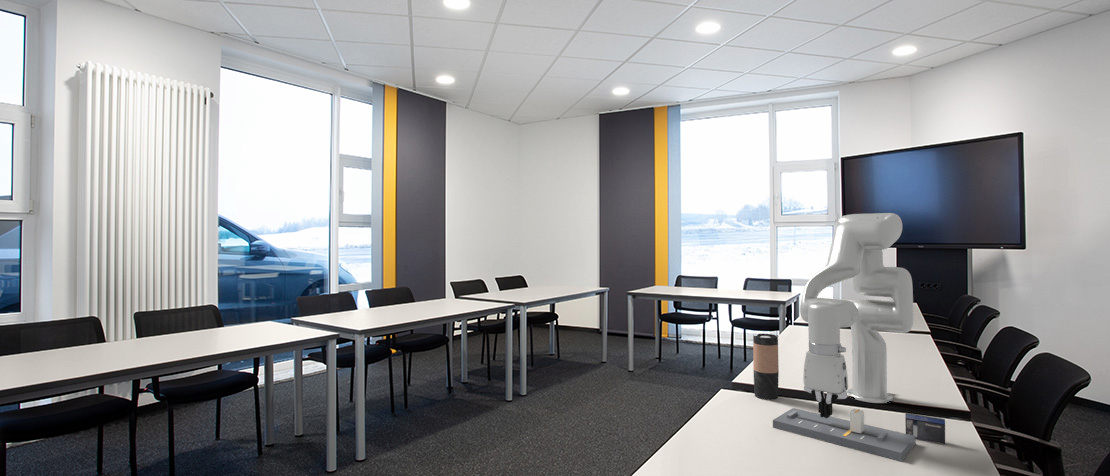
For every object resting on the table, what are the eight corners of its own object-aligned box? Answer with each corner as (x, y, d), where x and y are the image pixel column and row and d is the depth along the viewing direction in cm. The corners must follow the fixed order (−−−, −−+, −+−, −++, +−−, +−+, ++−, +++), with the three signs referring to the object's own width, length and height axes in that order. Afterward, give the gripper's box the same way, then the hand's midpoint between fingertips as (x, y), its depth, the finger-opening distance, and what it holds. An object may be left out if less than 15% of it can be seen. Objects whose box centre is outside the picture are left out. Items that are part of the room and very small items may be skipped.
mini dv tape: (905, 437, 132) (905, 414, 132) (905, 435, 133) (905, 412, 133) (945, 444, 128) (945, 420, 128) (944, 442, 129) (944, 418, 129)
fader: (853, 427, 133) (853, 408, 133) (864, 430, 131) (864, 410, 131) (850, 430, 131) (850, 411, 131) (860, 433, 129) (860, 413, 129)
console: (793, 414, 150) (793, 405, 150) (915, 444, 128) (915, 432, 128) (772, 427, 140) (772, 417, 140) (901, 461, 118) (901, 449, 118)
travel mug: (781, 400, 162) (780, 338, 162) (756, 399, 164) (755, 337, 164) (775, 393, 170) (775, 333, 170) (751, 392, 171) (751, 333, 171)
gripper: (859, 350, 134) (861, 419, 134) (801, 342, 145) (802, 406, 145) (850, 356, 129) (851, 427, 129) (790, 347, 140) (791, 413, 140)
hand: (825, 416), depth 137 cm, fingers closed
